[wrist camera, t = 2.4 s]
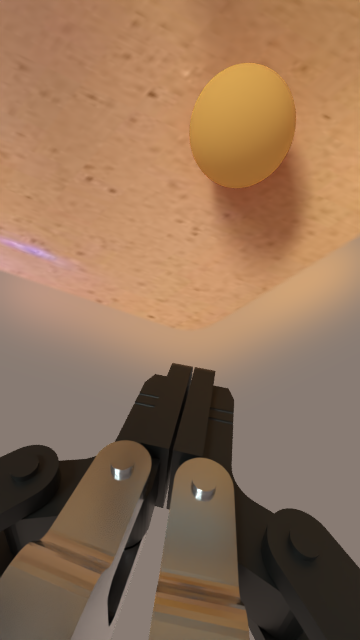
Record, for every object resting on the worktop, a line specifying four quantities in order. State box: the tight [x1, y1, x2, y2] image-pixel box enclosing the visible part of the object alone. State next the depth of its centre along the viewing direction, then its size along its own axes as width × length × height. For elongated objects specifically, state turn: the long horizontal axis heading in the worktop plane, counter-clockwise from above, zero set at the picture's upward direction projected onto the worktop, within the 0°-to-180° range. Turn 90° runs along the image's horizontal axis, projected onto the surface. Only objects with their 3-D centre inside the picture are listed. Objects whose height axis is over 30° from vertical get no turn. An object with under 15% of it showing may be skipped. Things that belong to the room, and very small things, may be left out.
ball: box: [189, 63, 296, 188], centre depth 17 cm, size 6×6×6 cm
